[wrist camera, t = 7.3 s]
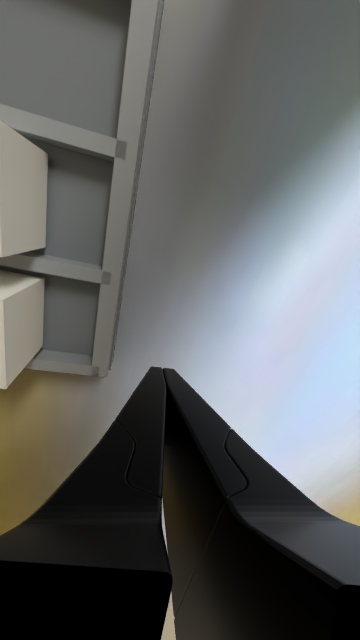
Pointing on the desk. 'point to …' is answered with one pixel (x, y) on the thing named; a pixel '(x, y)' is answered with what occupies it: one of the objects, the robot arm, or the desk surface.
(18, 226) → the beige squarish block
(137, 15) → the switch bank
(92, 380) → the desk surface
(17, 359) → the cream block
